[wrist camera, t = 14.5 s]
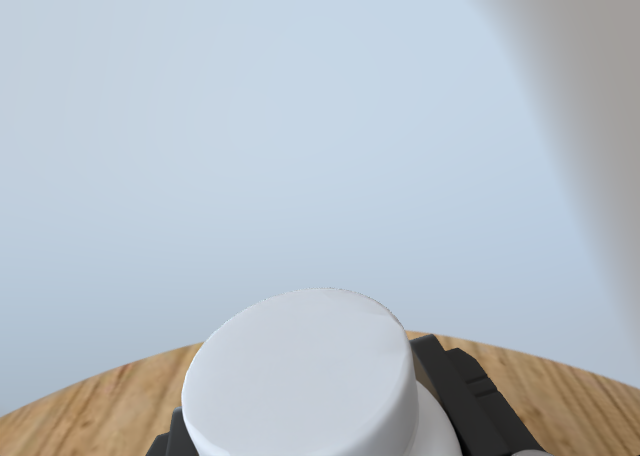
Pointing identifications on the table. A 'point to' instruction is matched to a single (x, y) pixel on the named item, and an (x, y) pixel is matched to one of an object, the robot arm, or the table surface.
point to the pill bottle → (312, 383)
